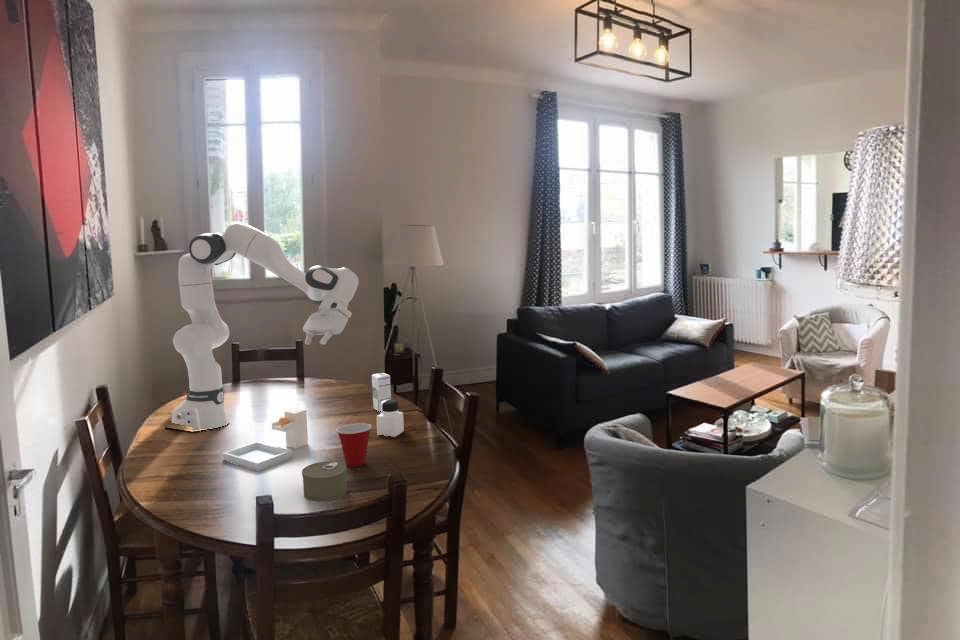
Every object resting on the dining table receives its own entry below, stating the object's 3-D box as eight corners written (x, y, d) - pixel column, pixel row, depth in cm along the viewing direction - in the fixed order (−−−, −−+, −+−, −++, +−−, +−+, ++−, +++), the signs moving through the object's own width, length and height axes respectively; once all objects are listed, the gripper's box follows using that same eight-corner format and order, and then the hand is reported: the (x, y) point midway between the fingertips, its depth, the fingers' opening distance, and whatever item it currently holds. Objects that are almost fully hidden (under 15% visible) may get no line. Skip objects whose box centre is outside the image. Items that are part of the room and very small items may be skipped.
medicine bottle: (404, 431, 231) (403, 398, 229) (395, 437, 224) (394, 404, 222) (386, 429, 233) (385, 397, 231) (376, 435, 226) (375, 402, 224)
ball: (277, 428, 211) (276, 419, 210) (282, 423, 214) (281, 414, 213) (286, 428, 210) (284, 419, 209) (291, 423, 213) (289, 414, 212)
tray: (223, 460, 203) (222, 453, 203) (257, 448, 214) (257, 441, 214) (257, 471, 194) (257, 463, 194) (292, 458, 205) (291, 450, 204)
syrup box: (392, 410, 257) (391, 374, 255) (378, 412, 254) (377, 376, 252) (385, 407, 262) (384, 372, 259) (372, 409, 258) (371, 374, 256)
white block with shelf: (297, 441, 221) (295, 407, 219) (309, 444, 218) (307, 410, 216) (273, 449, 213) (271, 414, 211) (285, 453, 209) (283, 417, 208)
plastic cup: (360, 454, 207) (358, 418, 205) (379, 463, 200) (378, 426, 198) (330, 463, 200) (328, 426, 198) (350, 473, 192) (348, 434, 190)
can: (293, 498, 175) (292, 474, 174) (319, 481, 186) (318, 459, 185) (331, 504, 171) (330, 480, 170) (355, 487, 182) (354, 464, 181)
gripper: (309, 306, 233) (291, 339, 228) (341, 304, 219) (323, 338, 213) (322, 315, 237) (305, 348, 231) (355, 313, 223) (337, 348, 217)
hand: (314, 343), depth 222 cm, fingers open, 8 cm apart
